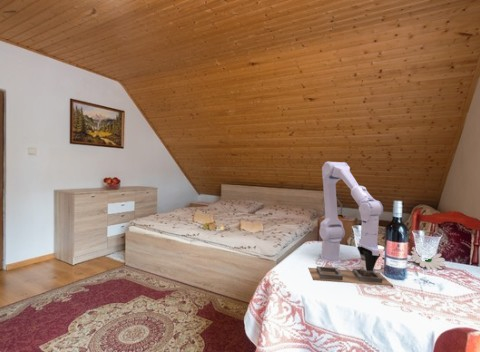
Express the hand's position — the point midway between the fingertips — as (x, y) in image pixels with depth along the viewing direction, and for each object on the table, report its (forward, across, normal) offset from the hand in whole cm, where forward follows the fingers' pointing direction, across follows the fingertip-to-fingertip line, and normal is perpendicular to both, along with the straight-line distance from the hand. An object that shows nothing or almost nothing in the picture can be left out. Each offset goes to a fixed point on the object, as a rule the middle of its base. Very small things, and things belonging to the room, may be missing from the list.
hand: (367, 268), depth 104 cm
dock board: (+4, 0, -7) cm, 8 cm away
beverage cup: (+4, -13, +8) cm, 16 cm away
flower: (+5, -23, +25) cm, 34 cm away
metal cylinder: (+3, 0, 0) cm, 3 cm away
